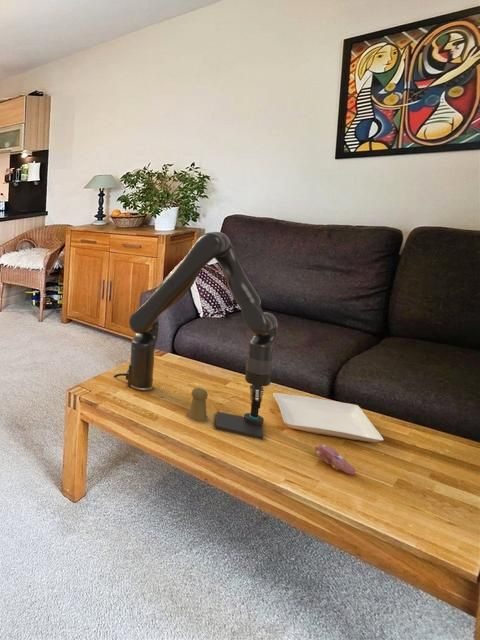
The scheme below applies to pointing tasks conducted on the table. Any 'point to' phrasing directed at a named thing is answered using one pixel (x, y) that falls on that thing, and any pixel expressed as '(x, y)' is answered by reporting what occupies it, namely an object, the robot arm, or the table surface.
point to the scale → (240, 425)
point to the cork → (198, 405)
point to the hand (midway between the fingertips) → (254, 416)
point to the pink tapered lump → (334, 459)
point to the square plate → (326, 417)
